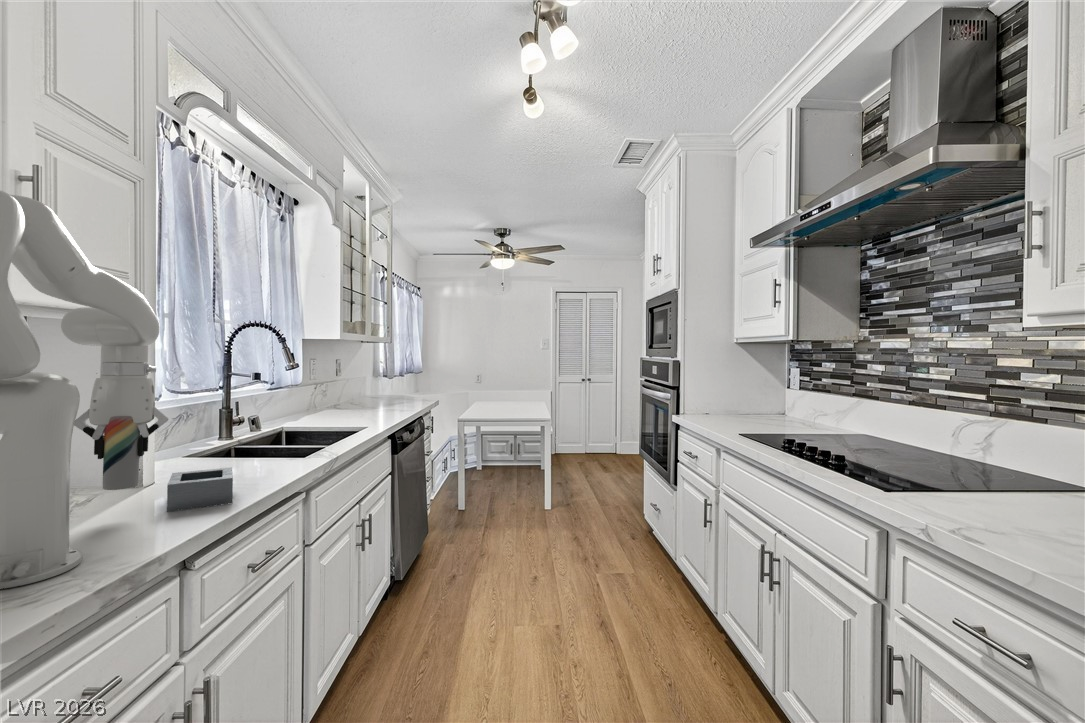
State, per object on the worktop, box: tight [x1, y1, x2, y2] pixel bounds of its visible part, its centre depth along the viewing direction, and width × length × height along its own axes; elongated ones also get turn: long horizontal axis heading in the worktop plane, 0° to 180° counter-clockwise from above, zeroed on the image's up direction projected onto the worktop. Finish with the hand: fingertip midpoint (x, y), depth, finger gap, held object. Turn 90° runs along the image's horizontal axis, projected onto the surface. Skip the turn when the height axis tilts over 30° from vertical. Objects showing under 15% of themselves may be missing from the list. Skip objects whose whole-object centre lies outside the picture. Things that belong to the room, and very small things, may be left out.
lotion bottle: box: [102, 416, 141, 491], centre depth 100 cm, size 6×6×20 cm
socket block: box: [166, 467, 234, 513], centre depth 112 cm, size 12×12×6 cm
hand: (121, 455), depth 99 cm, fingers closed on lotion bottle, 5 cm apart
